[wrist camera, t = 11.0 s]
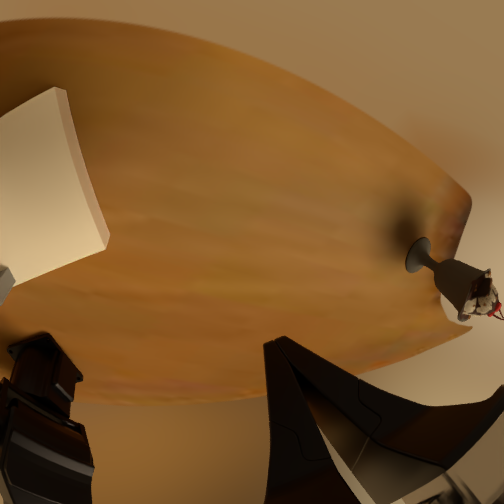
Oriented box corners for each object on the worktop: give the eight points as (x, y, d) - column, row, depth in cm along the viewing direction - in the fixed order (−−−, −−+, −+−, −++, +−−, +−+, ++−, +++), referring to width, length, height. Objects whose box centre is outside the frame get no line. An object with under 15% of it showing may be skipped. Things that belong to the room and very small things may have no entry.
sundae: (427, 271, 34) (505, 331, 21) (396, 283, 32) (481, 356, 20) (438, 227, 31) (528, 283, 18) (407, 235, 29) (510, 303, 16)
